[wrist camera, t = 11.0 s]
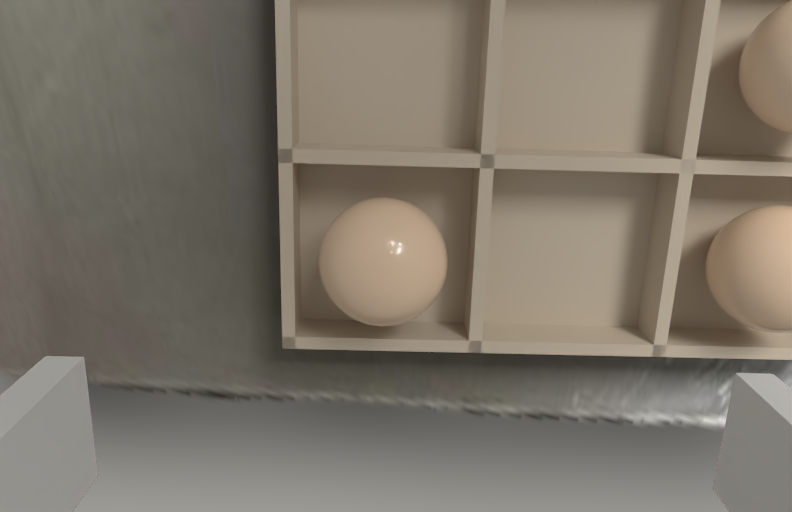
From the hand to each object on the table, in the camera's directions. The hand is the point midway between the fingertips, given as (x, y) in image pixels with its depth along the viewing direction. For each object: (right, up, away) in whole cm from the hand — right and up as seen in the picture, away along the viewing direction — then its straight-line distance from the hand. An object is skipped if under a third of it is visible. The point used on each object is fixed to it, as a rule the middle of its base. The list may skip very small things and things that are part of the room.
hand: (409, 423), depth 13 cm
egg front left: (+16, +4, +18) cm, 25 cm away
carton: (+8, +8, +17) cm, 21 cm away
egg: (-1, +4, +18) cm, 18 cm away
